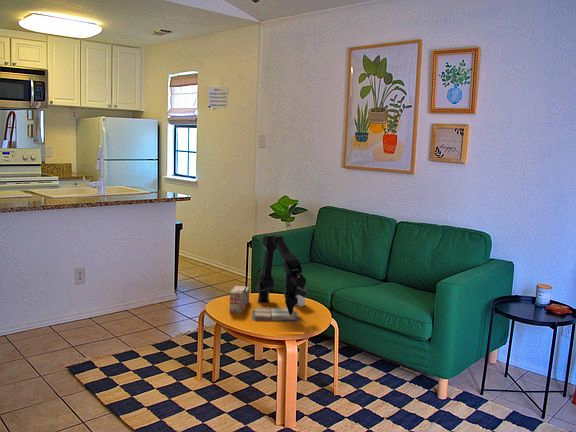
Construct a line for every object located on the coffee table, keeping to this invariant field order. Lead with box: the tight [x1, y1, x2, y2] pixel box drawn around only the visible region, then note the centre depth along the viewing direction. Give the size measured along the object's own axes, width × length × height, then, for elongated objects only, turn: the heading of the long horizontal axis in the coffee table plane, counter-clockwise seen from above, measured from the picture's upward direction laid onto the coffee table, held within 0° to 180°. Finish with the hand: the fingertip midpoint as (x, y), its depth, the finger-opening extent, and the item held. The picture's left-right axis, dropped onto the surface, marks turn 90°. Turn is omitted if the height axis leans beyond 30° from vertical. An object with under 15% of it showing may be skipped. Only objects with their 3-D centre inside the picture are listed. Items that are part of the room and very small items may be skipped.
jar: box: [295, 285, 306, 308], centre depth 308 cm, size 9×8×12 cm
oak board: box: [254, 306, 271, 320], centre depth 285 cm, size 14×8×2 cm, turn 3°
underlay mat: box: [251, 309, 300, 323], centre depth 285 cm, size 16×24×1 cm, turn 93°
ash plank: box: [270, 306, 295, 320], centre depth 285 cm, size 14×12×2 cm
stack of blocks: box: [228, 285, 250, 314], centre depth 297 cm, size 21×6×12 cm, turn 172°
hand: (290, 311), depth 285 cm, fingers open, 9 cm apart
